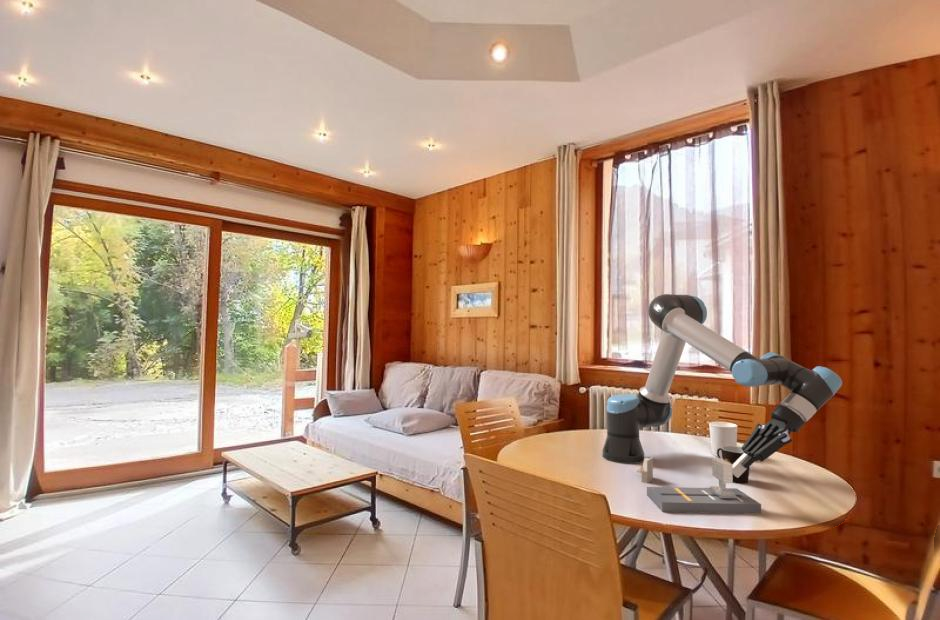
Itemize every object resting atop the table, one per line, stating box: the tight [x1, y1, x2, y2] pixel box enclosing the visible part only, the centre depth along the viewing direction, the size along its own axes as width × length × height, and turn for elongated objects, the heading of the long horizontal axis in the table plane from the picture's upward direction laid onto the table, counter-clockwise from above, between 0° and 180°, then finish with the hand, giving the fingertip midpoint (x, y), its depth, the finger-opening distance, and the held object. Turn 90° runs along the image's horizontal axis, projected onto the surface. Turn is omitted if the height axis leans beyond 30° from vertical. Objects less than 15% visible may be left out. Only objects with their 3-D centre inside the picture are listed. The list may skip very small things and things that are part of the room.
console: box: [646, 486, 762, 515], centre depth 129 cm, size 26×12×3 cm, turn 88°
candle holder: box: [708, 421, 739, 459], centre depth 179 cm, size 10×10×12 cm
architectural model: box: [636, 456, 654, 484], centre depth 150 cm, size 3×7×7 cm, turn 143°
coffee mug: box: [716, 446, 751, 485], centre depth 151 cm, size 12×9×10 cm
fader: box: [709, 457, 735, 498], centre depth 129 cm, size 4×6×9 cm, turn 178°
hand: (732, 473), depth 128 cm, fingers closed
